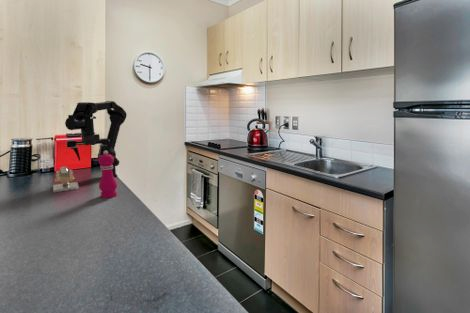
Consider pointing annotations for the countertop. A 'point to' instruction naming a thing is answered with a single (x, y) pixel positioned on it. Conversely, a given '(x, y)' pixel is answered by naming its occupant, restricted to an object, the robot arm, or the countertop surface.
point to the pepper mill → (107, 176)
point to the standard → (65, 183)
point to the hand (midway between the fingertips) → (90, 159)
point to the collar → (64, 175)
